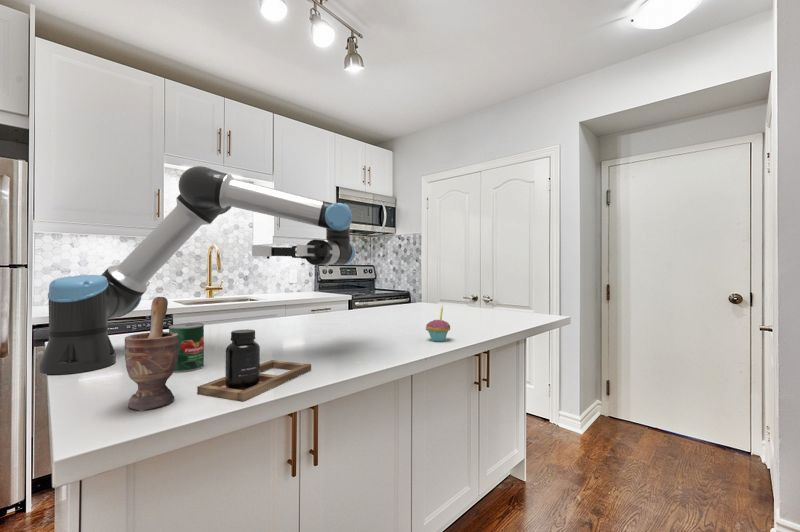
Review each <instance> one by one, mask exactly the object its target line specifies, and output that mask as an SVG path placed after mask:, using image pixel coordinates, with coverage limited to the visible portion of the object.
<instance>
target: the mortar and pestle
mask: <svg viewBox="0 0 800 532" xmlns="http://www.w3.org/2000/svg"><path fill="white" fill-rule="evenodd" d="M168 305H169V302H168V299H167V297H163V296H156V297H154V298H153V299H152V301H151V306H150V329H149V332H143V333H136V334H131V335H128V336H127V335H126V336H125V337H124V351H125V352H124V360H125V361H124V362H125V369H126V371H127V375H128V377H129V378H130V380H131V381H133V382H134V383H135V384H136V385H137V391H136V392H135V393H134V394H132V395H131V397H130V398H129V400H128V408H129V409H132V410H135V411H140V412H143V411H147V410H151V409H155V408H159V407H163V406H166V405H169V404H171V403H173V402H174V401H175V395H174V394H173V392H172V391H171V389H170V388H169V387H168V386H167V385H166V384H167V381H168V379H170V377H172V376H173V374H174V373H175V372H174V370H175V366H176V363H177V358H178V333H172V332H169V331H163V330H164V329H163V326H164V323H165V318H166V314H167V310H168Z"/></svg>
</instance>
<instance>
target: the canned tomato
mask: <svg viewBox="0 0 800 532" xmlns="http://www.w3.org/2000/svg"><path fill="white" fill-rule="evenodd" d="M168 332H172V333H178V358H177V363H176V366H175V370H174V372H173V373H188V372H193V371H194V372H195V371H197V370H200V369H203V368H204V367H205V362H204V361H205V354H204V353H205V352H204V351H205V345H204V344H205V336H204V334H205V324H204V323H202V322H185V323H184V322H183V323H176V324H171V325H169V326H168Z"/></svg>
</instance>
